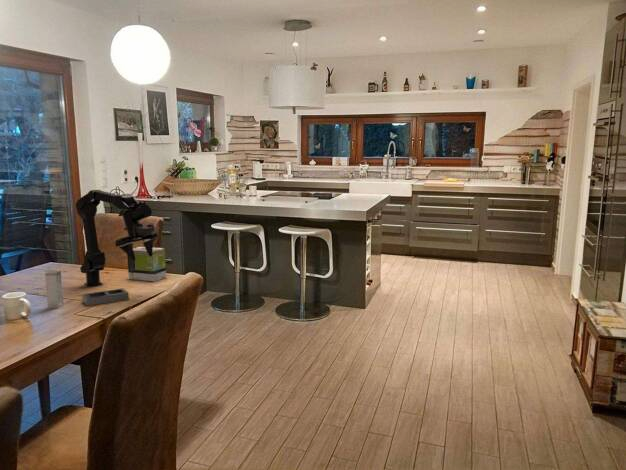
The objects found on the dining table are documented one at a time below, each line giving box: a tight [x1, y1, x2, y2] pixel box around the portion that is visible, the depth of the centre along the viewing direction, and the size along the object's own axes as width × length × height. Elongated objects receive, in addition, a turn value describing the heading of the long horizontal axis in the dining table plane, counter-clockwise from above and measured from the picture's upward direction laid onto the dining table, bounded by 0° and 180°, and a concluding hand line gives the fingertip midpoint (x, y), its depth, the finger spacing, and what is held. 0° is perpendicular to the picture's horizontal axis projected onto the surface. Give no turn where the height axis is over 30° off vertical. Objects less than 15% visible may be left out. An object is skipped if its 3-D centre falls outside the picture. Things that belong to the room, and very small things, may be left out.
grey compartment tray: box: [81, 287, 130, 307], centre depth 198 cm, size 8×16×3 cm, turn 127°
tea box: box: [126, 246, 167, 282], centre depth 234 cm, size 15×10×15 cm
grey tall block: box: [44, 270, 64, 309], centre depth 189 cm, size 4×4×14 cm
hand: (142, 258), depth 206 cm, fingers open, 9 cm apart
